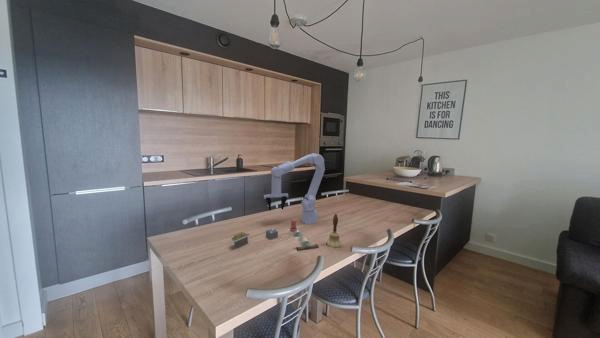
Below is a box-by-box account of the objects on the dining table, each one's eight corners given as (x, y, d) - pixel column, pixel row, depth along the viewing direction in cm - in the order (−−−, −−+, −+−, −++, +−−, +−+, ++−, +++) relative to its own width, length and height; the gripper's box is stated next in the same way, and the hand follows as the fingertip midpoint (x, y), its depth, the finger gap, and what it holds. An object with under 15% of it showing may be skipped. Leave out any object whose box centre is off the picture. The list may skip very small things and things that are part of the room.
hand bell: (343, 241, 129) (344, 212, 127) (340, 248, 122) (342, 217, 119) (327, 239, 132) (329, 210, 130) (324, 245, 124) (325, 215, 122)
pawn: (295, 228, 142) (295, 217, 141) (298, 231, 138) (298, 219, 137) (289, 229, 141) (289, 217, 140) (291, 232, 137) (291, 220, 136)
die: (272, 236, 133) (272, 228, 132) (277, 239, 130) (277, 231, 129) (265, 238, 130) (265, 230, 130) (270, 241, 127) (270, 233, 126)
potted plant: (217, 248, 119) (217, 235, 118) (246, 236, 133) (246, 225, 132) (232, 256, 112) (232, 243, 111) (261, 243, 126) (261, 231, 125)
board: (300, 228, 145) (300, 226, 145) (318, 247, 122) (318, 245, 122) (282, 231, 141) (282, 229, 141) (297, 251, 118) (297, 248, 118)
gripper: (285, 185, 151) (285, 206, 153) (262, 186, 146) (262, 208, 148) (289, 187, 144) (289, 209, 146) (265, 189, 139) (265, 212, 141)
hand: (276, 209), depth 147 cm, fingers open, 7 cm apart
